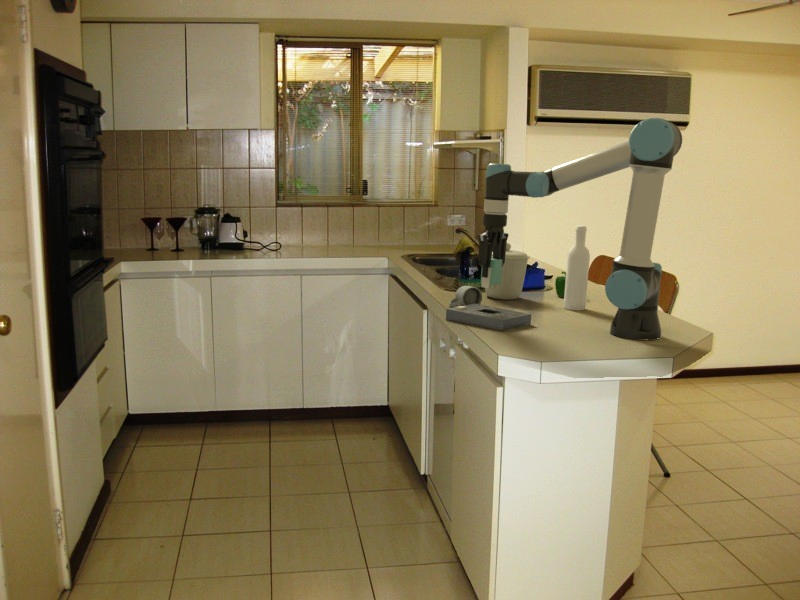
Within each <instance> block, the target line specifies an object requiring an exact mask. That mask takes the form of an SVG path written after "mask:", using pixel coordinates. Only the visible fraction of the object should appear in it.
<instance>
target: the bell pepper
mask: <svg viewBox="0 0 800 600" xmlns="http://www.w3.org/2000/svg"><path fill="white" fill-rule="evenodd" d="M561 274H562V275H561V276H556V278H555V280H554V281H555V283H554V286H555V292H556V295H557V296H558V297H560V298H563V299H564V294H565V282H566V271H564V270H563V271H561Z"/></svg>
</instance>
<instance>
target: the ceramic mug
mask: <svg viewBox="0 0 800 600" xmlns="http://www.w3.org/2000/svg"><path fill="white" fill-rule="evenodd" d="M482 302H483V293H482V291H481V290H480V288H477V287H475V286H471V285H462V286H460V287H459V288H457V290H456V291H455V298H453V299H451V300H449V302H448V304H449V308H454V307H459V306H465V305H471V304H480V305H482V304H481V303H482Z"/></svg>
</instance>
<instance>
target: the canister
mask: <svg viewBox="0 0 800 600" xmlns="http://www.w3.org/2000/svg"><path fill="white" fill-rule="evenodd" d="M511 248H512V245H511V243H509V242H507V245H506V255H505V263H504V265H503V267H502V273H501V285H498V287H497V288H494V286H491V287H490V288H484V291H485V294H486V296H487V297H489V298H491V299H494V300H495V299H496V300H503V301H505V300H507V301H509V300H516V299H518V298H520V296H521V295H522V291H523V287H524V282H525V277H526V272H527V266H528V261H529V259H530V256H529V255H528V254H527V253H526V252H524V251H520V250H514V249H511ZM491 258H493V252H492V257H491Z"/></svg>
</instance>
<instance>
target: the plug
mask: <svg viewBox="0 0 800 600" xmlns="http://www.w3.org/2000/svg"><path fill="white" fill-rule="evenodd" d="M490 268H491V278H490V287H491V285H493V286H494V288H497V286H498V285H501V273H502V259H495V258H491V262H490ZM480 273H481V274H480V284H481V285H482V268H481V272H480Z"/></svg>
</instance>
